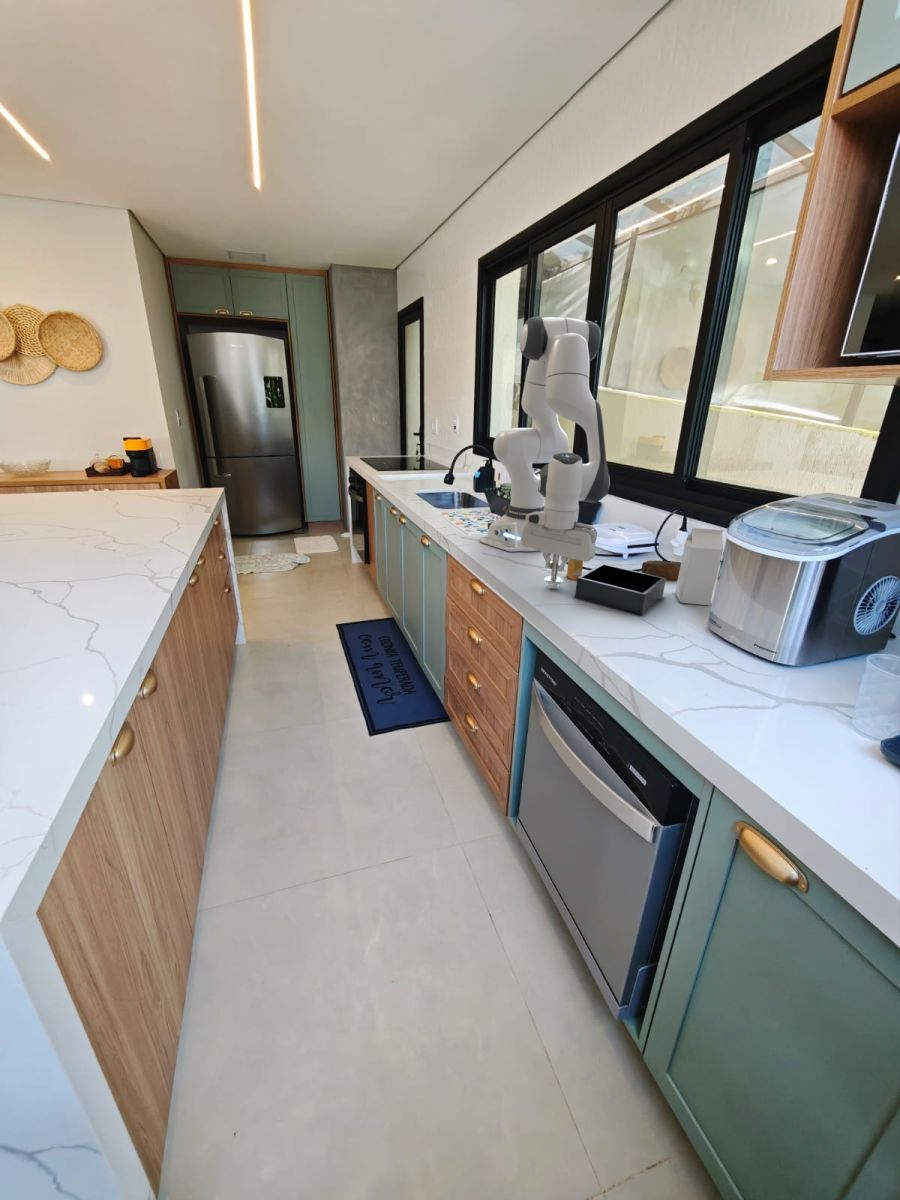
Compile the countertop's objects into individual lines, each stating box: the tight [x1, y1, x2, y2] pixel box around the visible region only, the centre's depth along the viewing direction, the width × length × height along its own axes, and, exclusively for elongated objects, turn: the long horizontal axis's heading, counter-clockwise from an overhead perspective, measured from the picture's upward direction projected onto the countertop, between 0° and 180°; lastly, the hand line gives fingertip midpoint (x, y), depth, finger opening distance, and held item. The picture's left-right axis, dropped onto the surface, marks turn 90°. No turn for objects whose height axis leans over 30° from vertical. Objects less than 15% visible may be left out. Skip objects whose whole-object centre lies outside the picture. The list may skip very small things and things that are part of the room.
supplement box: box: [566, 558, 584, 581], centre depth 144 cm, size 3×4×10 cm
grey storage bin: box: [574, 563, 667, 617], centre depth 131 cm, size 18×16×6 cm
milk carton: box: [674, 527, 724, 606], centre depth 129 cm, size 7×7×19 cm
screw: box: [544, 554, 563, 590], centre depth 135 cm, size 13×5×5 cm
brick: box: [641, 560, 681, 581], centre depth 147 cm, size 11×4×5 cm, turn 80°
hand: (554, 569), depth 135 cm, fingers closed on screw
